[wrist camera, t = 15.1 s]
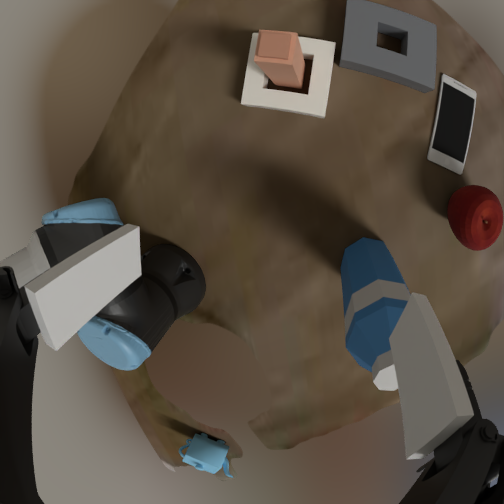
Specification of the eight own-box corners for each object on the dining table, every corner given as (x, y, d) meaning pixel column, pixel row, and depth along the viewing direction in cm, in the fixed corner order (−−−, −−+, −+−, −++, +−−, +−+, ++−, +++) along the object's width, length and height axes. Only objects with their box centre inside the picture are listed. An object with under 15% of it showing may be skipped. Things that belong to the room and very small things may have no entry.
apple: (487, 193, 32) (519, 208, 23) (468, 241, 36) (495, 266, 27) (449, 169, 33) (479, 180, 24) (430, 222, 37) (454, 245, 28)
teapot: (186, 435, 86) (173, 461, 74) (190, 426, 81) (175, 455, 69) (238, 455, 84) (228, 483, 72) (246, 448, 79) (236, 478, 67)
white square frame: (246, 106, 37) (240, 103, 35) (257, 39, 32) (252, 32, 30) (324, 118, 36) (324, 116, 33) (334, 48, 30) (335, 42, 28)
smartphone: (425, 158, 34) (427, 159, 33) (440, 74, 27) (443, 72, 26) (459, 174, 33) (461, 175, 32) (474, 92, 26) (477, 92, 25)
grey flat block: (339, 66, 31) (340, 59, 28) (345, 7, 26) (347, -4, 23) (424, 93, 29) (434, 89, 26) (428, 32, 24) (436, 25, 20)
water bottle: (335, 242, 43) (342, 351, 21) (389, 231, 40) (445, 331, 17) (344, 291, 46) (348, 410, 24) (394, 281, 43) (432, 395, 20)
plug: (275, 85, 35) (252, 59, 22) (279, 62, 33) (257, 27, 20) (302, 89, 34) (291, 63, 21) (305, 66, 33) (296, 30, 20)
